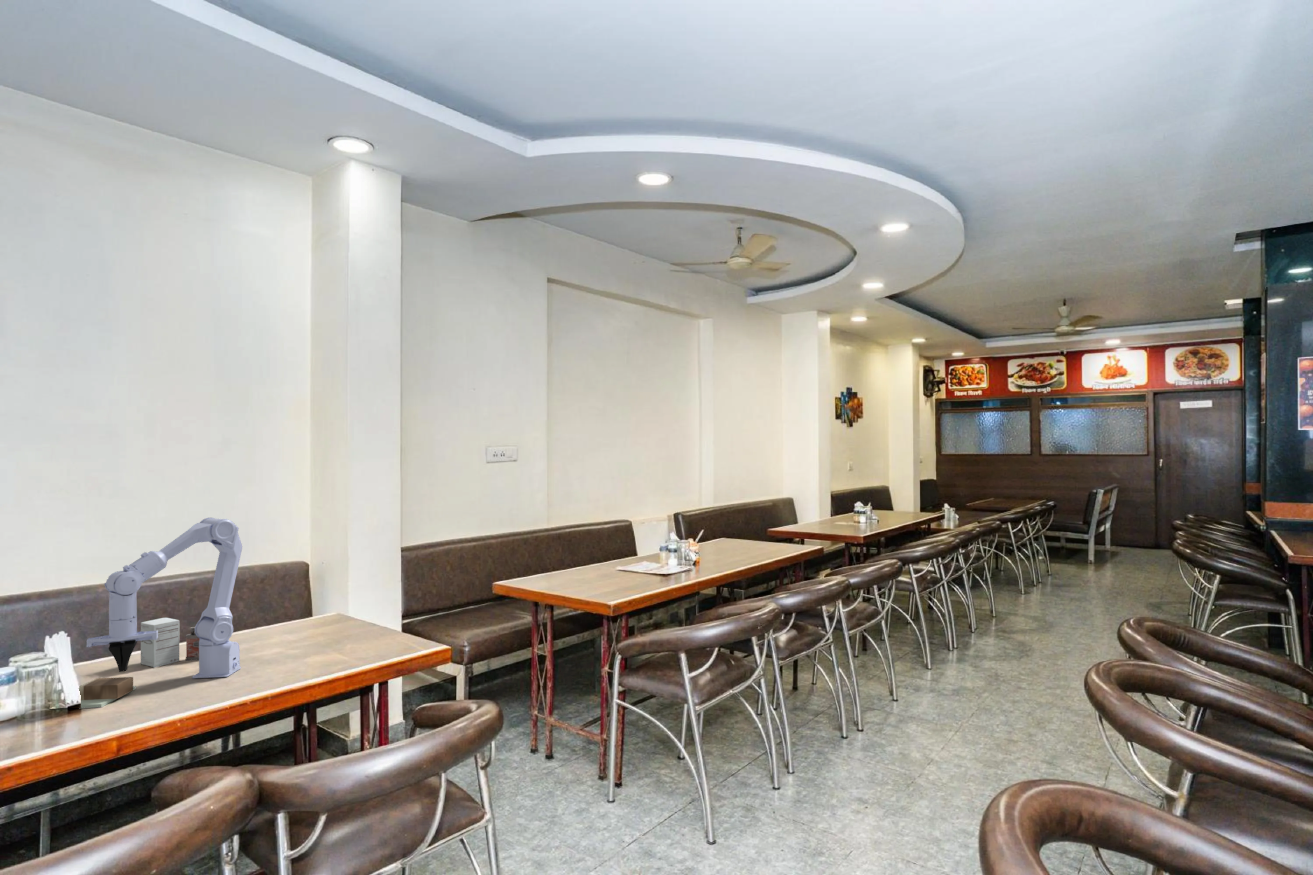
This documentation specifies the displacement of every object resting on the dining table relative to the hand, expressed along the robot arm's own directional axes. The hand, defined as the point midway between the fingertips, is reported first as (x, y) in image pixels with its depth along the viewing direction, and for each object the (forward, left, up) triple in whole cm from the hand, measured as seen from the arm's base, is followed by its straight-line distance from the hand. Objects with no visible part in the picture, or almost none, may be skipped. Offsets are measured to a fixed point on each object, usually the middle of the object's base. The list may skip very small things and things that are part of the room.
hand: (123, 670), depth 178 cm
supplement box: (+8, -30, -7) cm, 32 cm away
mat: (+7, 0, -7) cm, 10 cm away
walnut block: (-1, 0, -4) cm, 4 cm away
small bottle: (-2, -33, -7) cm, 34 cm away
